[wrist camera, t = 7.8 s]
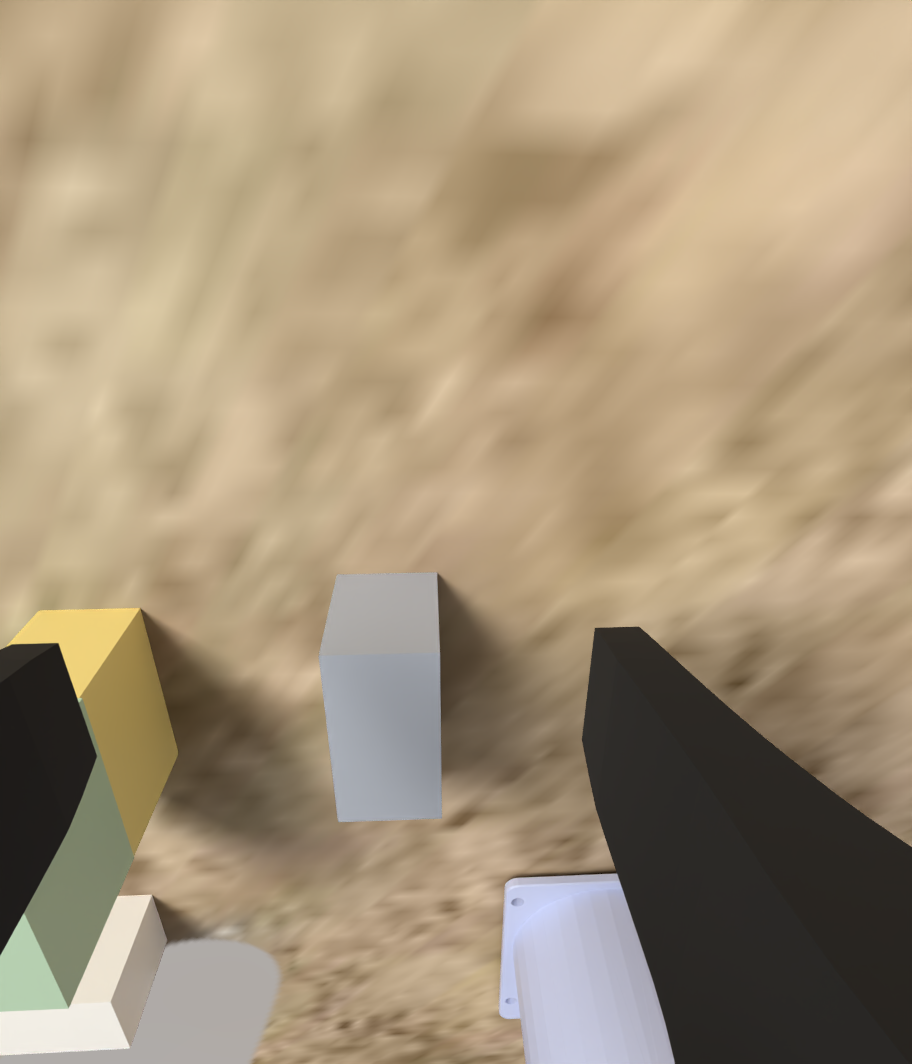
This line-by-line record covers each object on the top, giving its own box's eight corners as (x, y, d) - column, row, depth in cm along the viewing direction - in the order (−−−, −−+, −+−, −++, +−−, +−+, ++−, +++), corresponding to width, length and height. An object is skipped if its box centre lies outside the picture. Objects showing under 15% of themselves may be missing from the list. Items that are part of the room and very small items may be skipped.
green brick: (134, 857, 19) (68, 1008, 16) (28, 861, 19) (-62, 1014, 15) (82, 698, 16) (-12, 837, 13) (-42, 701, 16) (-171, 842, 13)
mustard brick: (178, 753, 23) (133, 857, 19) (89, 756, 23) (27, 861, 19) (140, 607, 20) (79, 697, 16) (39, 610, 20) (-45, 701, 16)
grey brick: (438, 720, 23) (441, 818, 19) (351, 723, 23) (338, 821, 19) (436, 570, 20) (440, 652, 16) (337, 572, 20) (318, 655, 16)
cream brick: (153, 892, 26) (110, 1002, 23) (168, 937, 27) (130, 1048, 24) (-3, 898, 26) (-70, 1011, 22) (21, 944, 27) (-40, 1057, 24)
